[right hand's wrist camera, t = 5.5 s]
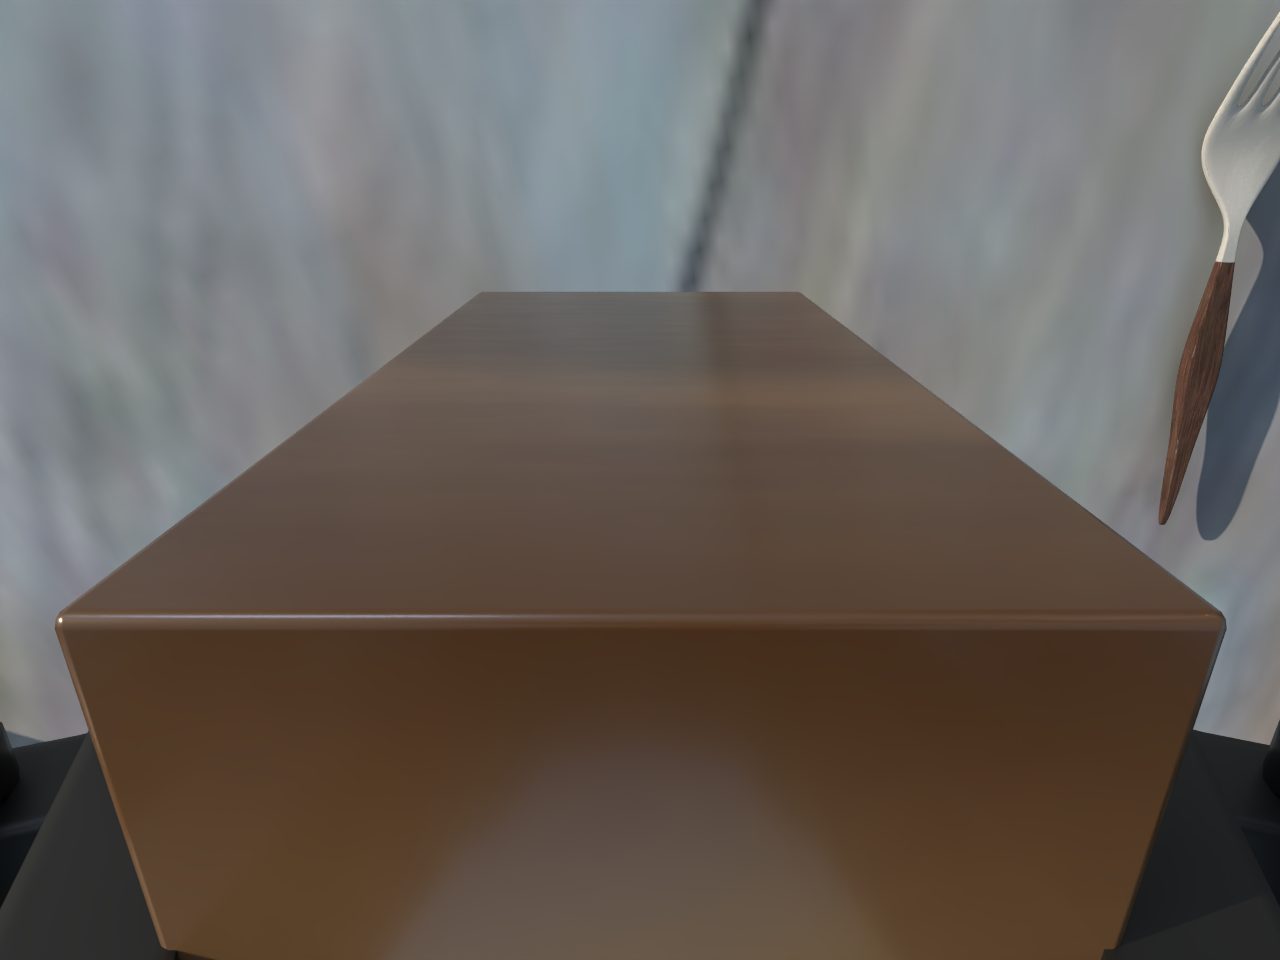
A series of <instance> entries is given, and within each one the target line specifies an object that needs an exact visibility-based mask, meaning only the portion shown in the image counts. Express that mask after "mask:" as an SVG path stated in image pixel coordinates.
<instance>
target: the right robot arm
mask: <svg viewBox="0 0 1280 960" xmlns="http://www.w3.org/2000/svg"><path fill="white" fill-rule="evenodd" d="M0 960H179V958H178V955H177V952H176V950H167V949H165V948H163V947H161V945H160V942H159V939H158V936H157V933H156V930H155V927H154V924H153V921H152V918H151V915H150V912H149V909H148V906H147V903H146V900H145V897H144V894H143V891H142V888H141V885H140V882H139V879H138V876H137V873H136V870H135V867H134V864H133V861H132V858H131V855H130V852H129V849H128V846H127V843H126V840H125V837H124V834H123V831H122V828H121V825H120V822H119V819H118V816H117V813H116V810H115V807H114V804H113V801H112V798H111V795H110V792H109V789H108V786H107V783H106V780H105V777H104V774H103V771H102V768H101V765H100V762H99V759H98V756H97V753H96V750H95V747H94V744H93V741H92V738H91V735H90V732H89V731H88V733H86V734H82V735H78V736H73V737H68V738H63V739H58V740H53V741H48V742H43V743H38V744H33V745H28V746H23V747H18V748H13V749H12V747H11V745H10V742H9V739H8V737H7V734H6V732H5V729H4V726H3V724H2V723H1V722H0ZM1101 960H1280V721H1279V723H1278V726H1277V728H1276V731H1275V733H1274V736H1273V739H1272V741H1271V744H1270V745H1265V744H1260V743H1255V742H1250V741H1245V740H1240V739H1235V738H1230V737H1225V736H1220V735H1215V734H1210V733H1205V732H1200V731H1197V730H1192V733H1191V736H1190V739H1189V742H1188V745H1187V748H1186V751H1185V754H1184V757H1183V760H1182V763H1181V766H1180V769H1179V772H1178V775H1177V778H1176V781H1175V784H1174V787H1173V790H1172V793H1171V796H1170V799H1169V802H1168V805H1167V808H1166V811H1165V814H1164V817H1163V820H1162V823H1161V826H1160V829H1159V832H1158V835H1157V838H1156V841H1155V844H1154V847H1153V850H1152V853H1151V856H1150V858H1149V861H1148V864H1147V867H1146V870H1145V873H1144V876H1143V879H1142V882H1141V885H1140V888H1139V891H1138V894H1137V897H1136V900H1135V903H1134V906H1133V909H1132V912H1131V915H1130V918H1129V921H1128V924H1127V927H1126V930H1125V933H1124V936H1123V939H1122V942H1121V945H1120V946H1118V947H1116V948H1114V949H1104V952H1103V955H1102V958H1101Z"/></svg>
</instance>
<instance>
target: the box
mask: <svg viewBox="0 0 1280 960" xmlns="http://www.w3.org/2000/svg"><path fill="white" fill-rule="evenodd" d="M55 631H56V634H57V637H58V640H59V643H60V646H61V649H62V651H63V654H64V657H65V660H66V663H67V666H68V669H69V672H70V675H71V678H72V681H73V684H74V687H75V690H76V693H77V696H78V699H79V702H80V705H81V708H82V711H83V714H84V717H85V720H86V723H87V726H88V729H89V732H90V735H91V738H92V741H93V744H94V747H95V750H96V753H97V756H98V759H99V762H100V765H101V768H102V771H103V774H104V777H105V780H106V783H107V786H108V789H109V792H110V795H111V798H112V801H113V804H114V807H115V810H116V813H117V816H118V819H119V822H120V825H121V828H122V831H123V834H124V837H125V840H126V843H127V846H128V849H129V852H130V855H131V858H132V861H133V864H134V867H135V870H136V873H137V876H138V879H139V882H140V885H141V888H142V891H143V894H144V897H145V900H146V903H147V906H148V909H149V912H150V915H151V918H152V921H153V924H154V927H155V930H156V933H157V936H158V939H159V942H160V945H161V947H163V948H165V949H167V950H176V952H177V955H178V958H179V960H1101V958H1102V955H1103V952H1104V949H1114V948H1116V947H1118V946H1120V945H1121V942H1122V939H1123V936H1124V933H1125V930H1126V927H1127V924H1128V921H1129V918H1130V915H1131V912H1132V909H1133V906H1134V903H1135V900H1136V897H1137V894H1138V891H1139V888H1140V885H1141V882H1142V879H1143V876H1144V873H1145V870H1146V867H1147V864H1148V861H1149V858H1150V856H1151V853H1152V850H1153V847H1154V844H1155V841H1156V838H1157V835H1158V832H1159V829H1160V826H1161V823H1162V820H1163V817H1164V814H1165V811H1166V808H1167V805H1168V802H1169V799H1170V796H1171V793H1172V790H1173V787H1174V784H1175V781H1176V778H1177V775H1178V772H1179V769H1180V766H1181V763H1182V760H1183V757H1184V754H1185V751H1186V748H1187V745H1188V742H1189V739H1190V736H1191V733H1192V730H1193V727H1194V724H1195V721H1196V718H1197V715H1198V712H1199V709H1200V706H1201V703H1202V701H1203V698H1204V695H1205V692H1206V689H1207V686H1208V683H1209V680H1210V677H1211V674H1212V671H1213V668H1214V665H1215V662H1216V659H1217V656H1218V653H1219V650H1220V647H1221V644H1222V641H1223V638H1224V635H1225V632H1226V619H1225V617H1224V616H1223V614H1222V612H1221V611H1219V610H1218V609H1217V608H1215V607H1214V606H1213V605H1211V604H1210V603H1209V602H1207V601H1206V600H1205V599H1203V598H1202V597H1201V596H1199V595H1198V594H1197V593H1195V592H1194V591H1193V590H1192V589H1190V588H1189V587H1188V586H1186V585H1185V584H1184V583H1182V582H1181V581H1180V580H1178V579H1177V578H1176V577H1174V576H1173V575H1172V574H1170V573H1169V572H1168V571H1166V570H1165V569H1164V568H1163V567H1161V566H1160V565H1159V564H1157V563H1156V562H1155V561H1153V560H1152V559H1151V558H1149V557H1148V556H1147V555H1145V554H1144V553H1143V552H1141V551H1140V550H1139V549H1138V548H1136V547H1135V546H1134V545H1132V544H1131V543H1130V542H1128V541H1127V540H1126V539H1124V538H1123V537H1122V536H1120V535H1119V534H1118V533H1116V532H1115V531H1114V530H1112V529H1111V528H1110V527H1109V526H1107V525H1106V524H1105V523H1103V522H1102V521H1101V520H1099V519H1098V518H1097V517H1095V516H1094V515H1093V514H1091V513H1090V512H1089V511H1087V510H1086V509H1085V508H1083V507H1082V506H1081V505H1080V504H1078V503H1077V502H1076V501H1074V500H1073V499H1072V498H1070V497H1069V496H1068V495H1066V494H1065V493H1064V492H1062V491H1061V490H1060V489H1058V488H1057V487H1056V486H1054V485H1053V484H1052V483H1051V482H1049V481H1048V480H1047V479H1045V478H1044V477H1043V476H1041V475H1040V474H1039V473H1037V472H1036V471H1035V470H1033V469H1032V468H1031V467H1029V466H1028V465H1027V464H1025V463H1024V462H1023V461H1022V460H1020V459H1019V458H1018V457H1016V456H1015V455H1014V454H1012V453H1011V452H1010V451H1008V450H1007V449H1006V448H1004V447H1003V446H1002V445H1000V444H999V443H998V442H996V441H995V440H994V439H993V438H991V437H990V436H989V435H987V434H986V433H985V432H983V431H982V430H981V429H979V428H978V427H977V426H975V425H974V424H973V423H971V422H970V421H969V420H967V419H966V418H965V417H964V416H962V415H961V414H960V413H958V412H957V411H956V410H954V409H953V408H952V407H950V406H949V405H948V404H946V403H945V402H944V401H942V400H941V399H940V398H938V397H937V396H936V395H935V394H933V393H932V392H931V391H929V390H928V389H927V388H925V387H924V386H923V385H921V384H920V383H919V382H917V381H916V380H915V379H913V378H912V377H911V376H909V375H908V374H907V373H906V372H904V371H903V370H902V369H900V368H899V367H898V366H896V365H895V364H894V363H892V362H891V361H890V360H888V359H887V358H886V357H884V356H883V355H882V354H880V353H879V352H878V351H877V350H875V349H874V348H873V347H871V346H870V345H869V344H867V343H866V342H865V341H863V340H862V339H861V338H859V337H858V336H857V335H855V334H854V333H853V332H851V331H850V330H849V329H848V328H846V327H845V326H844V325H842V324H841V323H840V322H838V321H837V320H836V319H834V318H833V317H832V316H830V315H829V314H828V313H826V312H825V311H824V310H823V309H821V308H820V307H819V306H817V305H816V304H815V303H813V302H812V301H811V300H809V299H808V298H807V297H805V296H804V295H803V294H801V293H799V292H481V293H479V294H478V295H476V296H475V297H474V298H472V299H471V300H470V301H468V302H467V303H466V304H465V305H463V306H462V307H461V308H459V309H458V310H457V311H455V312H454V313H453V314H451V315H450V316H449V317H447V318H446V319H445V320H443V321H442V322H441V323H440V324H438V325H437V326H436V327H434V328H433V329H432V330H430V331H429V332H428V333H426V334H425V335H424V336H422V337H421V338H420V339H418V340H417V341H416V342H415V343H413V344H412V345H411V346H409V347H408V348H407V349H405V350H404V351H403V352H401V353H400V354H399V355H397V356H396V357H395V358H393V359H392V360H391V361H390V362H388V363H387V364H386V365H384V366H383V367H382V368H380V369H379V370H378V371H376V372H375V373H374V374H372V375H371V376H370V377H369V378H367V379H366V380H365V381H363V382H362V383H361V384H359V385H358V386H357V387H355V388H354V389H353V390H351V391H350V392H349V393H347V394H346V395H345V396H344V397H342V398H341V399H340V400H338V401H337V402H336V403H334V404H333V405H332V406H330V407H329V408H328V409H326V410H325V411H324V412H322V413H321V414H320V415H319V416H317V417H316V418H315V419H313V420H312V421H311V422H309V423H308V424H307V425H305V426H304V427H303V428H301V429H300V430H299V431H297V432H296V433H295V434H294V435H292V436H291V437H290V438H288V439H287V440H286V441H284V442H283V443H282V444H280V445H279V446H278V447H276V448H275V449H274V450H273V451H271V452H270V453H269V454H267V455H266V456H265V457H263V458H262V459H261V460H259V461H258V462H257V463H255V464H254V465H253V466H251V467H250V468H249V469H248V470H246V471H245V472H244V473H242V474H241V475H240V476H238V477H237V478H236V479H234V480H233V481H232V482H230V483H229V484H228V485H226V486H225V487H224V488H223V489H221V490H220V491H219V492H217V493H216V494H215V495H213V496H212V497H211V498H209V499H208V500H207V501H205V502H204V503H203V504H201V505H200V506H199V507H198V508H196V509H195V510H194V511H192V512H191V513H190V514H188V515H187V516H186V517H184V518H183V519H182V520H180V521H179V522H178V523H177V524H175V525H174V526H173V527H171V528H170V529H169V530H167V531H166V532H165V533H163V534H162V535H161V536H159V537H158V538H157V539H155V540H154V541H153V542H152V543H150V544H149V545H148V546H146V547H145V548H144V549H142V550H141V551H140V552H138V553H137V554H136V555H134V556H133V557H132V558H130V559H129V560H128V561H127V562H125V563H124V564H123V565H121V566H120V567H119V568H117V569H116V570H115V571H113V572H112V573H111V574H109V575H108V576H107V577H105V578H104V579H103V580H102V581H100V582H99V583H98V584H96V585H95V586H94V587H92V588H91V589H90V590H88V591H87V592H86V593H84V594H83V595H82V596H80V597H79V598H78V599H77V600H75V601H74V602H73V603H71V604H70V605H69V606H67V607H66V608H65V609H63V610H62V611H61V612H60V613H59V615H58V616H57V618H56V623H55Z"/></svg>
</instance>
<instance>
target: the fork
mask: <svg viewBox="0 0 1280 960" xmlns="http://www.w3.org/2000/svg"><path fill="white" fill-rule="evenodd" d="M1279 24H1280V12H1279V14H1278V15H1277V17H1276V18H1275V20H1274V21H1273V23H1272V24H1271V26H1270V27H1269V29H1268V30H1267V32H1266V33H1265V35H1264V36H1263V38H1262V40H1261V41H1260V43H1259V44H1258V46H1257V47H1256V49H1255V50H1254V52H1253V53H1252V55H1251V57H1250V58H1249V60H1248V61H1247V63H1246V64H1245V66H1244V68H1243V69H1242V71H1241V72H1240V74H1239V76H1238V77H1237V79H1236V81H1235V82H1234V84H1233V86H1232V87H1231V89H1230V91H1229V92H1228V94H1227V96H1226V98H1225V99H1224V101H1223V103H1222V105H1221V106H1220V108H1219V110H1218V111H1217V113H1216V115H1215V117H1214V119H1213V120H1212V122H1211V124H1210V126H1209V128H1208V131H1207V133H1206V135H1205V138H1204V142H1203V146H1202V154H1201V158H1202V167H1203V171H1204V175H1205V177H1206V180H1207V182H1208V185H1209V187H1210V189H1211V191H1212V193H1213V195H1214V197H1215V199H1216V201H1217V203H1218V206H1219V208H1220V210H1221V213H1222V216H1223V220H1224V234H1223V239H1222V243H1221V247H1220V250H1219V253H1218V256H1217V259H1216V261H1215V264H1214V267H1213V270H1212V273H1211V275H1210V278H1209V281H1208V284H1207V286H1206V289H1205V292H1204V295H1203V297H1202V300H1201V303H1200V305H1199V308H1198V311H1197V314H1196V316H1195V319H1194V322H1193V325H1192V328H1191V331H1190V333H1189V336H1188V339H1187V342H1186V345H1185V349H1184V352H1183V355H1182V359H1181V362H1180V367H1179V371H1178V376H1177V382H1176V389H1175V396H1174V405H1173V414H1172V423H1171V431H1170V439H1169V447H1168V453H1167V460H1166V466H1165V472H1164V478H1163V485H1162V491H1161V499H1160V508H1159V524H1160V525H1164V524H1165V523H1166V522H1167V520H1168V518H1169V516H1170V513H1171V511H1172V508H1173V506H1174V503H1175V500H1176V498H1177V495H1178V492H1179V489H1180V486H1181V484H1182V481H1183V478H1184V475H1185V472H1186V469H1187V466H1188V463H1189V460H1190V457H1191V454H1192V451H1193V448H1194V445H1195V442H1196V439H1197V437H1198V434H1199V431H1200V428H1201V426H1202V423H1203V420H1204V417H1205V415H1206V412H1207V409H1208V406H1209V403H1210V400H1211V398H1212V395H1213V392H1214V389H1215V385H1216V382H1217V379H1218V375H1219V371H1220V366H1221V361H1222V356H1223V350H1224V343H1225V336H1226V329H1227V321H1228V313H1229V305H1230V297H1231V288H1232V280H1233V272H1234V265H1235V257H1236V251H1237V245H1238V240H1239V235H1240V232H1241V228H1242V225H1243V223H1244V220H1245V218H1246V216H1247V214H1248V212H1249V210H1250V208H1251V207H1252V205H1253V203H1254V202H1255V200H1256V198H1257V197H1258V195H1259V193H1260V192H1261V190H1262V189H1263V187H1264V186H1265V184H1266V182H1267V181H1268V179H1269V178H1270V176H1271V174H1272V173H1273V171H1274V169H1275V168H1276V166H1277V164H1278V163H1279V161H1280V87H1279V89H1278V90H1277V92H1276V93H1275V95H1274V96H1273V97H1272V99H1271V100H1270V101H1269V102H1268V103H1267V104H1266V105H1264V106H1262V100H1263V98H1264V95H1265V93H1266V91H1267V89H1268V87H1269V86H1270V84H1271V82H1272V80H1273V78H1274V77H1275V75H1276V73H1277V71H1278V70H1279V68H1280V50H1279V52H1278V53H1277V55H1276V56H1275V58H1274V59H1273V61H1272V62H1271V64H1270V65H1269V67H1268V68H1267V70H1266V72H1265V73H1264V75H1263V76H1262V78H1261V79H1260V81H1259V83H1258V84H1257V86H1256V87H1255V89H1254V90H1253V92H1252V93H1251V95H1250V96H1249V98H1248V99H1247V100H1246V102H1245V103H1244V104H1243V105H1241V106H1240V107H1238V106H1237V103H1238V100H1239V97H1240V95H1241V93H1242V91H1243V89H1244V87H1245V85H1246V83H1247V81H1248V79H1249V77H1250V76H1251V74H1252V72H1253V70H1254V68H1255V66H1256V65H1257V63H1258V61H1259V59H1260V57H1261V56H1262V54H1263V52H1264V50H1265V48H1266V47H1267V45H1268V43H1269V41H1270V40H1271V38H1272V36H1273V34H1274V33H1275V31H1276V29H1277V28H1278V26H1279Z"/></svg>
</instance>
